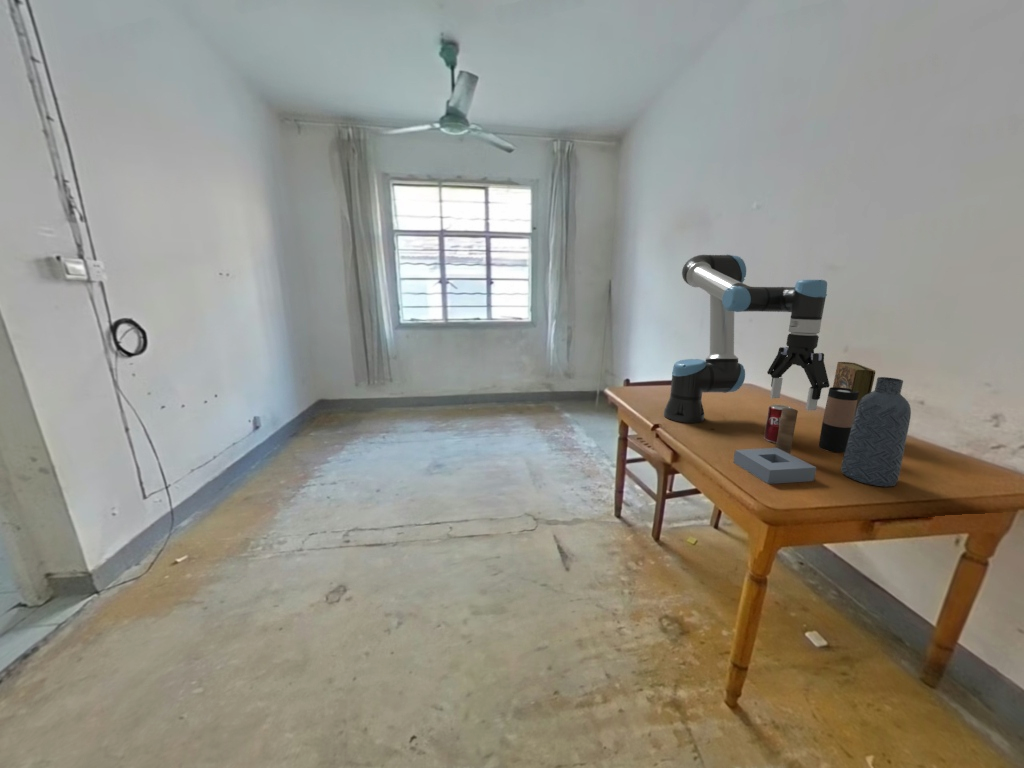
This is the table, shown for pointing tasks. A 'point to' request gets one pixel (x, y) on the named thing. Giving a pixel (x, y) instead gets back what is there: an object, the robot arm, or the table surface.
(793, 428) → the peg
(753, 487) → the table surface
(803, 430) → the table surface
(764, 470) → the socket block
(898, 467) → the vase
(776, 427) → the soda can
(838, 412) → the travel mug
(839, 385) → the book
